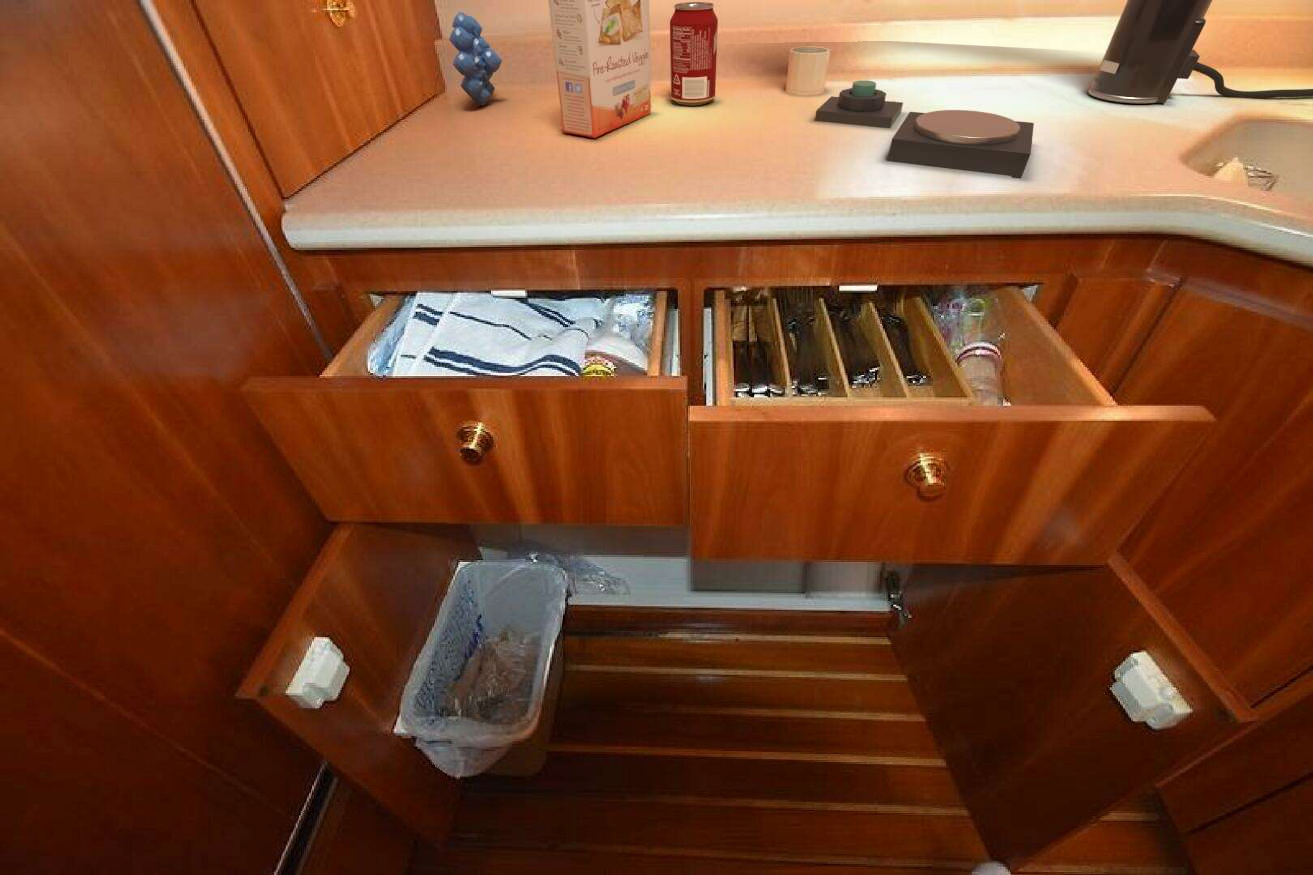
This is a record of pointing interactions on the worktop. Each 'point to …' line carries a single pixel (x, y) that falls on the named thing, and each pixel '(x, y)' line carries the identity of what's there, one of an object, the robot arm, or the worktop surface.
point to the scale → (963, 142)
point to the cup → (807, 70)
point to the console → (860, 110)
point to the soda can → (693, 53)
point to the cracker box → (601, 63)
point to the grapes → (474, 58)
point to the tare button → (863, 88)
